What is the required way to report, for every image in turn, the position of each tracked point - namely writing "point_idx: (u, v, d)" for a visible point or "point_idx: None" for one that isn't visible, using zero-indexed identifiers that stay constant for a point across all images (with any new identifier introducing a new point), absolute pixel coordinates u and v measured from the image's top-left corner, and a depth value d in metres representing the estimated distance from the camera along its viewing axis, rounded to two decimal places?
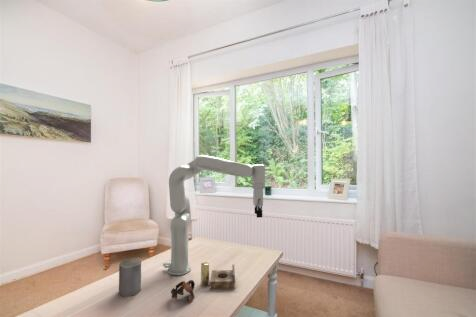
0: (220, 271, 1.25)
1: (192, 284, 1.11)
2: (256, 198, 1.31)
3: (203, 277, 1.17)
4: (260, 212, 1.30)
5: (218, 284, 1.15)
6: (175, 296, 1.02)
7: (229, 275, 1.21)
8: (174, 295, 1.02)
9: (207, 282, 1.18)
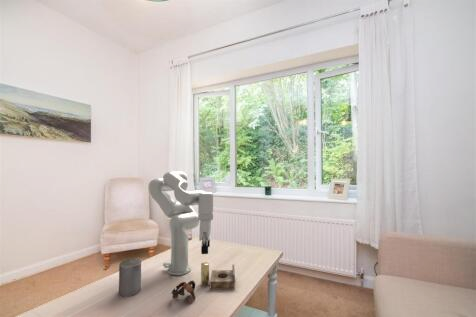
0: (220, 271, 1.25)
1: (193, 285, 1.10)
2: (201, 232, 1.15)
3: (203, 277, 1.17)
4: (205, 248, 1.14)
5: (218, 284, 1.15)
6: (176, 297, 1.01)
7: (229, 275, 1.21)
8: (175, 296, 1.02)
9: (207, 282, 1.18)
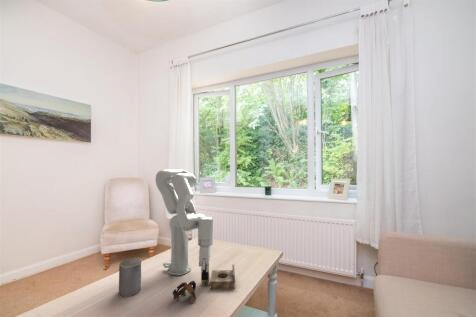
0: (220, 271, 1.25)
1: (194, 285, 1.10)
2: (200, 258, 1.15)
3: None
4: (205, 274, 1.16)
5: (218, 284, 1.15)
6: (177, 297, 1.01)
7: (229, 275, 1.21)
8: (176, 296, 1.01)
9: (207, 282, 1.18)
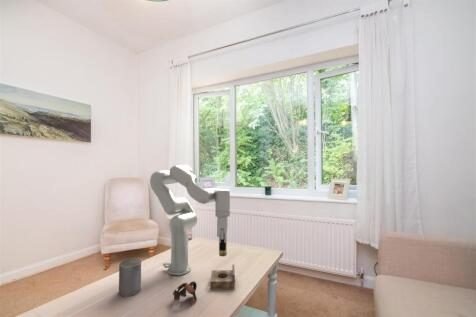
0: (220, 271, 1.25)
1: (194, 285, 1.09)
2: (218, 228, 1.16)
3: None
4: (223, 245, 1.17)
5: (218, 284, 1.15)
6: (178, 298, 1.01)
7: (229, 275, 1.21)
8: (176, 297, 1.01)
9: (225, 253, 1.19)
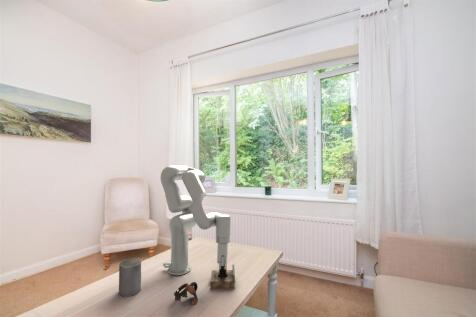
0: None
1: (195, 286, 1.09)
2: (219, 255, 1.16)
3: None
4: (223, 272, 1.16)
5: (218, 284, 1.15)
6: (179, 299, 1.00)
7: (229, 275, 1.21)
8: (177, 298, 1.00)
9: None
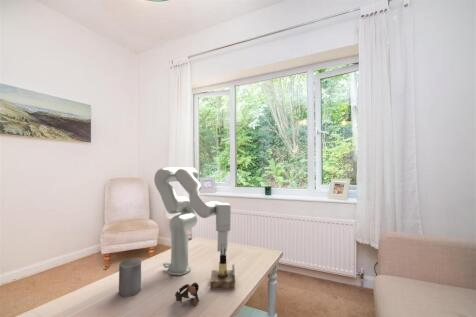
0: None
1: (196, 287, 1.08)
2: (219, 243, 1.16)
3: (221, 276, 1.19)
4: (223, 258, 1.19)
5: (218, 284, 1.15)
6: (180, 300, 0.99)
7: (229, 275, 1.21)
8: (179, 299, 1.00)
9: None
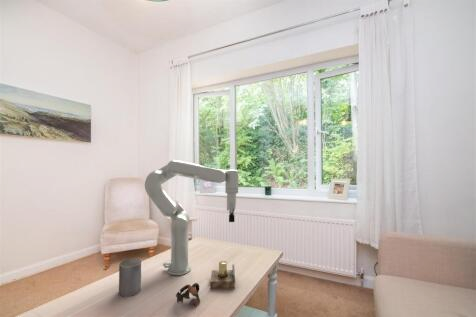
0: None
1: (197, 287, 1.08)
2: (228, 203, 1.34)
3: (221, 276, 1.19)
4: (232, 217, 1.37)
5: (218, 284, 1.15)
6: (181, 300, 0.99)
7: (229, 275, 1.21)
8: (180, 299, 0.99)
9: None
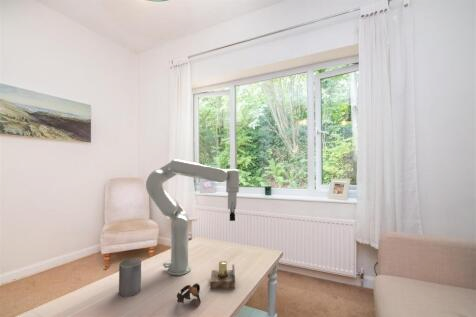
0: None
1: (197, 287, 1.08)
2: (229, 202, 1.35)
3: (221, 276, 1.19)
4: (233, 216, 1.39)
5: (218, 284, 1.15)
6: (182, 301, 0.99)
7: (229, 275, 1.21)
8: (180, 300, 0.99)
9: None
